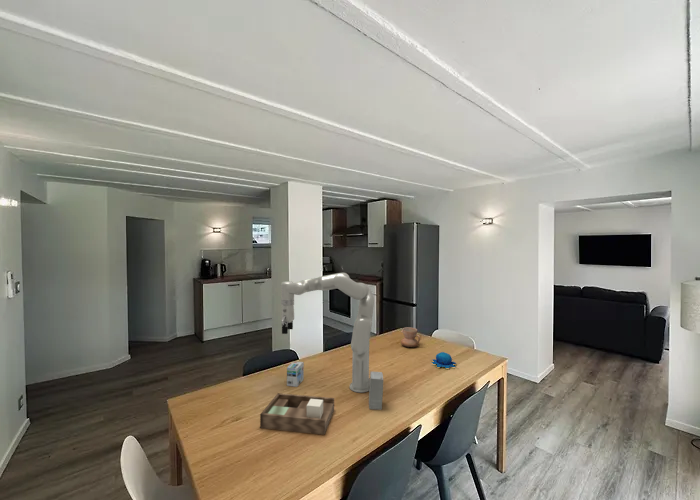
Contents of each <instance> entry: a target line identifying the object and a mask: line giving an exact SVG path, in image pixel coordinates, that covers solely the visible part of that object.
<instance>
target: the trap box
mask: <svg viewBox="0 0 700 500" xmlns="http://www.w3.org/2000/svg"><path fill="white" fill-rule="evenodd" d="M310 399H320V400H323V414H322V417H321V419H320V418H310V417H307V404H308V402H309V401H310ZM334 411H335V398H334V397H326V396H314V395H304V394H303V395H302V394H292V393H278V392H277V394H276V395H275V396H274V397H273V398H272V400H271V401H270V402H269V403H268V405H267V406H266V407H265V408H264V409H263V410H262V412H261V413H260V416H259V418H260V419H259V423H260V425H259V426H260V427H259V428H260V429H266V430H267V429H269V430H276V431H278V430H279V431H285V432H286V431H287V432H296V433H306V434H315V435H322V436H323V435H324V436H325V434H326V432H327V430H328V427H329V425H330V422H331V420H332V417H333V414H334Z"/></svg>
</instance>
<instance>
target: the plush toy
mask: <svg viewBox="0 0 700 500" xmlns="http://www.w3.org/2000/svg"><path fill="white" fill-rule="evenodd" d="M432 360H433V361H434V362H432V361H431V363H433V364H437V365H436V366H437V367H442V368H443V367H445V368H450V367H456V366H457V362H455V361H452V360H453V359H452V355H450V354H449V353H447V352H445V351H441V352H439V353H437V354H436V356H435V359H432ZM453 364H456V365H455V366H454V365H453ZM445 368H444V369H445ZM456 368H457V367H456ZM450 369H451V368H450Z"/></svg>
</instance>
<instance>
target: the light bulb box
mask: <svg viewBox="0 0 700 500" xmlns="http://www.w3.org/2000/svg"><path fill="white" fill-rule="evenodd" d="M304 367H305V364H304V361H296V360H295V361H294V360H293V361H291V363H289V365H288V366H287V367H286V386H287V387H294V388H298V386H299V385H300V384H302V382H304V370H305V369H304Z"/></svg>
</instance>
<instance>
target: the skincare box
mask: <svg viewBox="0 0 700 500" xmlns="http://www.w3.org/2000/svg"><path fill="white" fill-rule="evenodd" d="M369 378H370V389H369V391H368V408H369V410H381V411H382V410H383V395H384V393H383V392H384V374H383V372H382V371H369Z"/></svg>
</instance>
